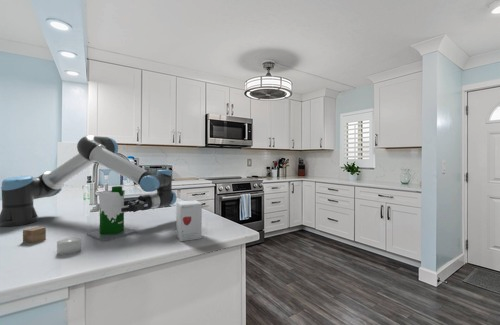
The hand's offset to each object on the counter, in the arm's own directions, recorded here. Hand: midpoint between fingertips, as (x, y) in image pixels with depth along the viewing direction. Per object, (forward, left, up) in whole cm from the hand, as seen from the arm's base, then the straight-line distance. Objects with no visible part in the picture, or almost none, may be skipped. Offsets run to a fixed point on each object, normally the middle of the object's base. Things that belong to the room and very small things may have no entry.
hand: (104, 209), depth 106 cm
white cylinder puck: (+7, -16, -12) cm, 21 cm away
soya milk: (0, +3, -11) cm, 11 cm away
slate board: (0, +3, -11) cm, 12 cm away
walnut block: (-17, -19, -12) cm, 28 cm away
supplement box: (+31, +19, -12) cm, 38 cm away
